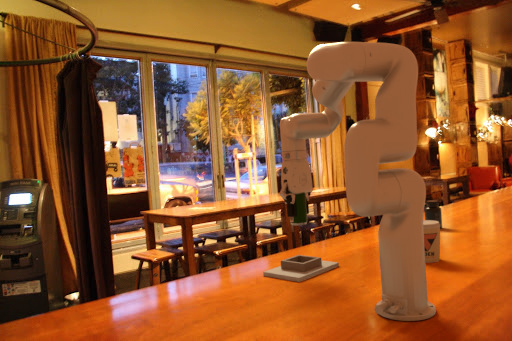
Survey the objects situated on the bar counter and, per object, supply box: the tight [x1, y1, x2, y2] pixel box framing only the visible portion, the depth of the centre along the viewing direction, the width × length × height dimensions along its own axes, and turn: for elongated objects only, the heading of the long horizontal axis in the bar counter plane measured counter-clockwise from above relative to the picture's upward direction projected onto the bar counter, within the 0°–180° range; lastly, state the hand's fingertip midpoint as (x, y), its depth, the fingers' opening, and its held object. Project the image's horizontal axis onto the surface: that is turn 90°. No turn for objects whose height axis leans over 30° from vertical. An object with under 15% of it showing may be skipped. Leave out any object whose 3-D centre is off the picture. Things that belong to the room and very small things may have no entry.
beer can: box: [289, 192, 308, 226], centre depth 140 cm, size 5×5×12 cm
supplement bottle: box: [424, 199, 443, 230], centre depth 196 cm, size 7×7×12 cm
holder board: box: [262, 254, 340, 283], centre depth 141 cm, size 20×14×4 cm
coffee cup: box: [423, 219, 441, 264], centre depth 143 cm, size 9×9×12 cm
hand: (298, 214), depth 140 cm, fingers closed on beer can, 5 cm apart
